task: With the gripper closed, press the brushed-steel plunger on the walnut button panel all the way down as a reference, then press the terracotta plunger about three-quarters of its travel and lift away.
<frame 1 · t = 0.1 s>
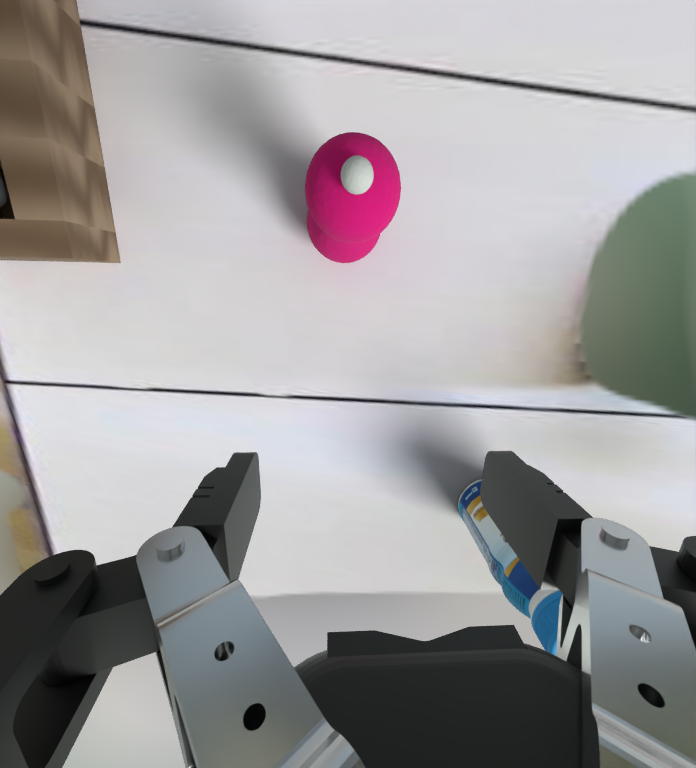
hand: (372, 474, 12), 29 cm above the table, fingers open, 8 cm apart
pepper mill: (342, 230, 36), on the table
beverage bottle: (483, 499, 48), on the table
button panel: (24, 134, 32), on the table
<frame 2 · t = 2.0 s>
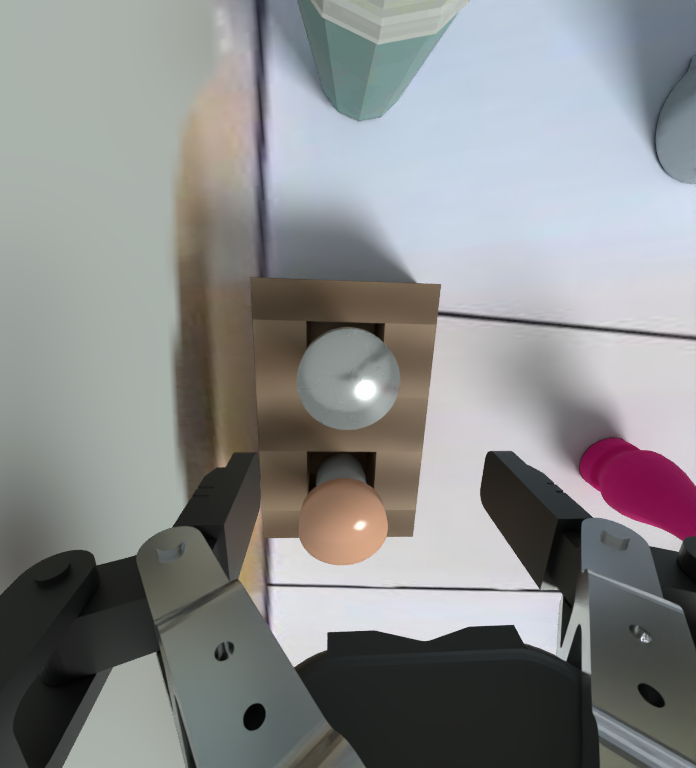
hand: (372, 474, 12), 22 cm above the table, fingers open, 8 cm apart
steel plunger: (346, 368, 24), point 9 cm above the table, slide at 0.0 cm
pepper mill: (603, 460, 39), on the table
disposable coffee cup: (361, 72, 26), on the table
button panel: (340, 396, 34), on the table
terracotta plunger: (341, 498, 27), point 9 cm above the table, slide at 0.0 cm
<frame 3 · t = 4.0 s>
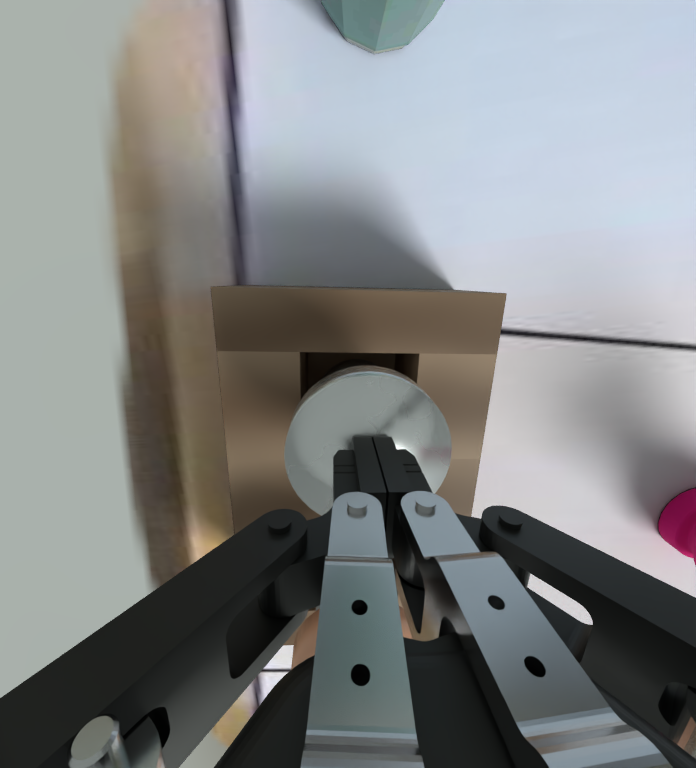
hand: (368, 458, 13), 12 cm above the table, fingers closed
steel plunger: (360, 419, 16), point 8 cm above the table, slide at 0.9 cm, touching gripper
pepper mill: (689, 514, 30), on the table
button panel: (348, 441, 26), on the table
terracotta plunger: (355, 608, 18), point 9 cm above the table, slide at 0.0 cm
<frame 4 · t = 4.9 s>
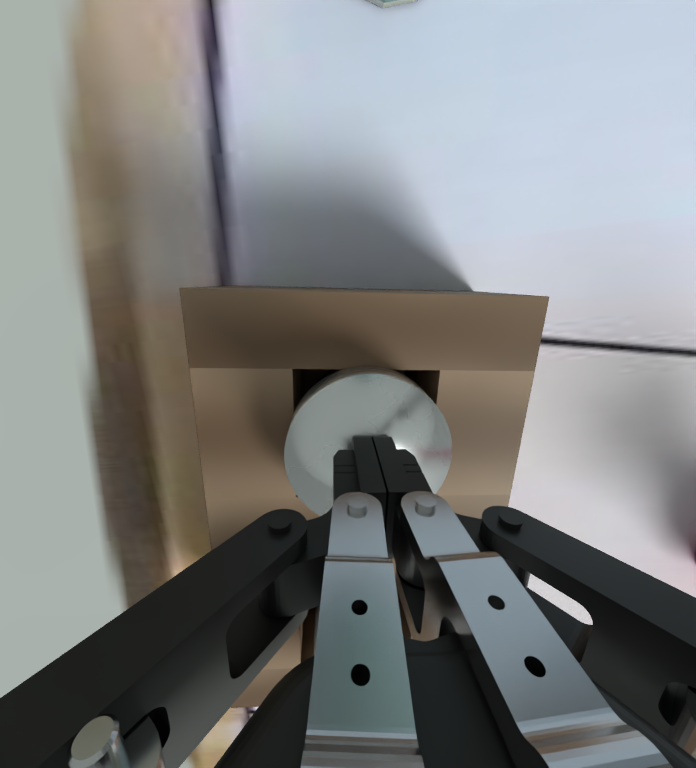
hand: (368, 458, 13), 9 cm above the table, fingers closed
steel plunger: (360, 420, 16), point 5 cm above the table, slide at 4.1 cm, touching gripper
button panel: (350, 464, 23), on the table
terracotta plunger: (360, 676, 15), point 9 cm above the table, slide at 0.0 cm
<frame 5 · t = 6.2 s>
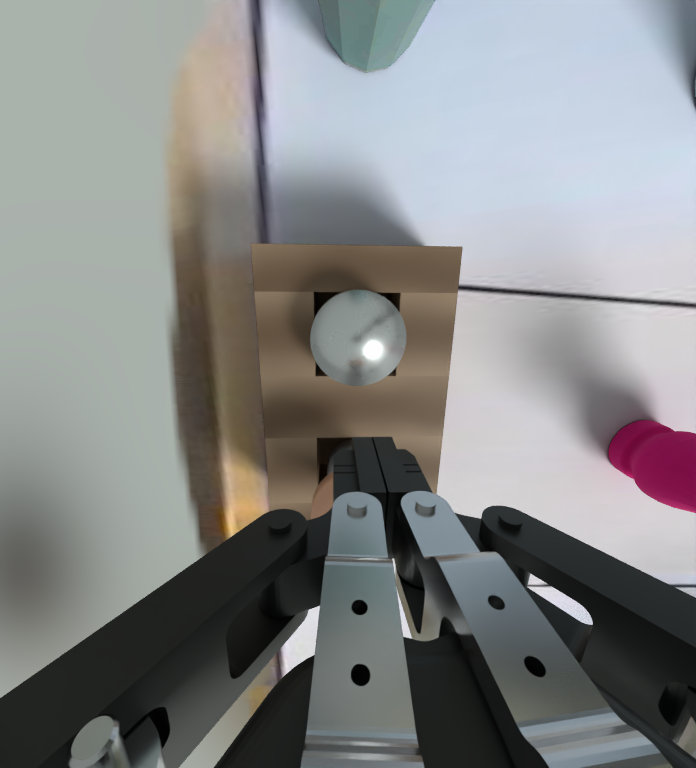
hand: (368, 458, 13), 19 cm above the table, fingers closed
steel plunger: (354, 332, 25), point 5 cm above the table, slide at 4.1 cm
pepper mill: (634, 445, 36), on the table
disposable coffee cup: (368, 16, 24), on the table
button panel: (350, 380, 32), on the table
terracotta plunger: (356, 487, 25), point 9 cm above the table, slide at 0.0 cm
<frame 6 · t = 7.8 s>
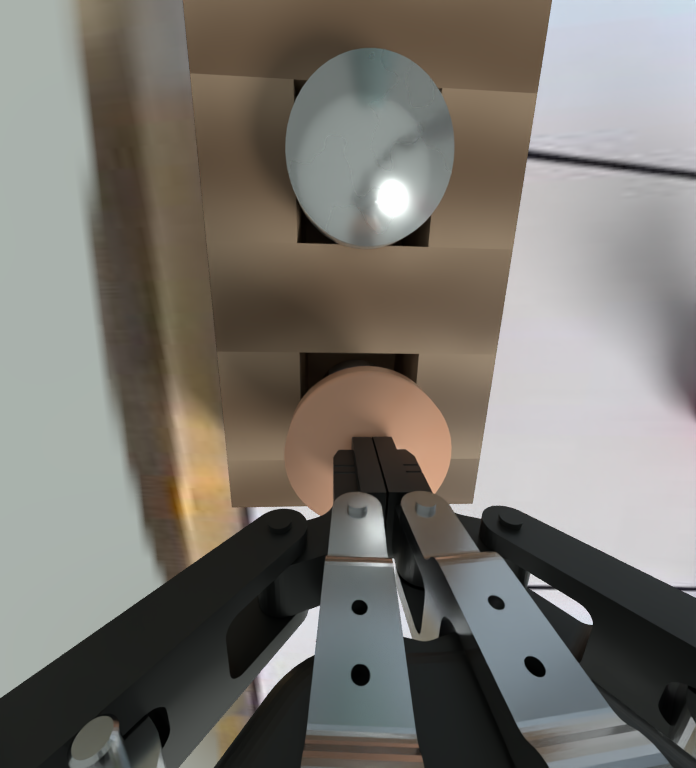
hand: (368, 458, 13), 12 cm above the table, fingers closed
steel plunger: (362, 181, 16), point 5 cm above the table, slide at 4.1 cm
button panel: (352, 295, 22), on the table
terracotta plunger: (360, 420, 16), point 8 cm above the table, slide at 0.9 cm, touching gripper
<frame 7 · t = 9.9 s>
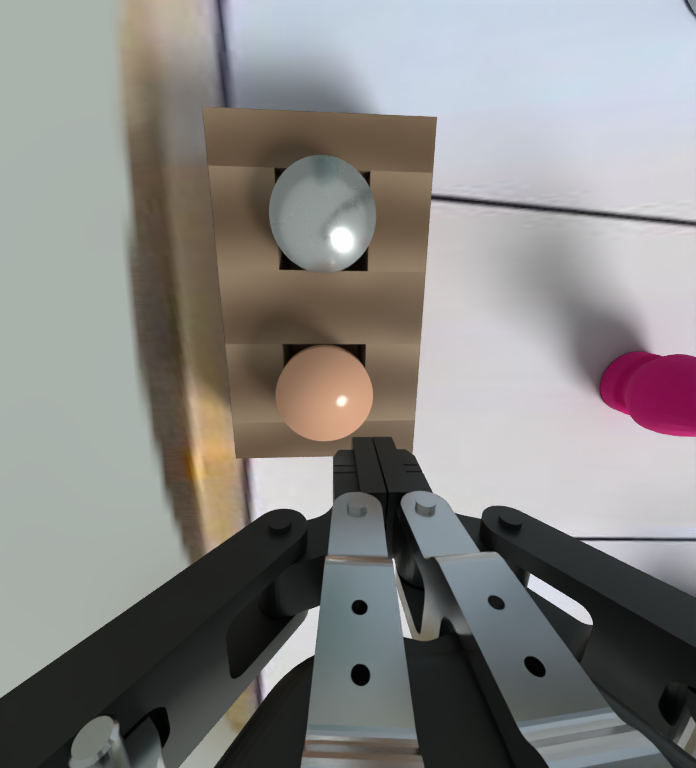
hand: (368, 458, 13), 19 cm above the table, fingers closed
steel plunger: (323, 226, 23), point 5 cm above the table, slide at 4.1 cm
pepper mill: (627, 380, 34), on the table
button panel: (324, 303, 30), on the table
terracotta plunger: (324, 382, 25), point 6 cm above the table, slide at 2.9 cm
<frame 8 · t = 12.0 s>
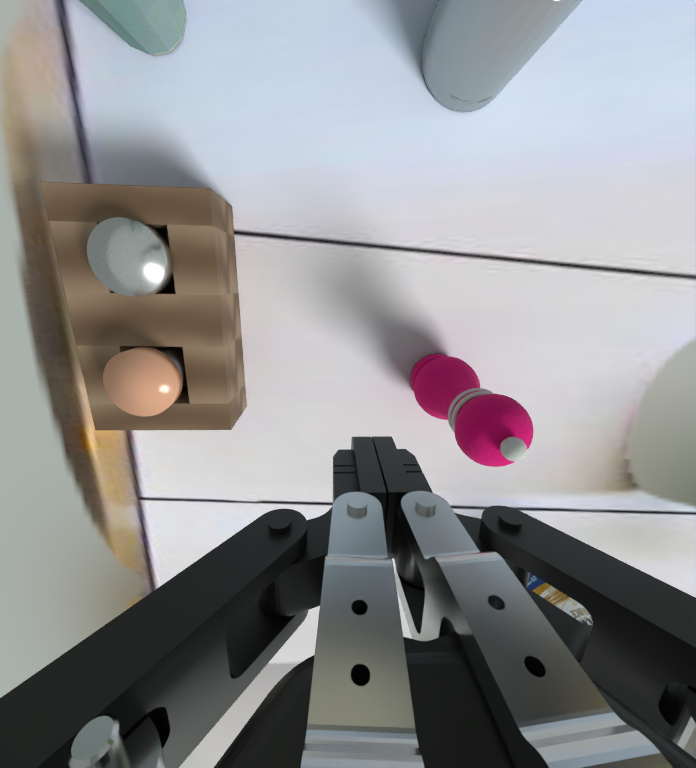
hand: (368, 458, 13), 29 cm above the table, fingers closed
steel plunger: (147, 260, 32), point 5 cm above the table, slide at 4.1 cm
pepper mill: (433, 376, 43), on the table
disposable coffee cup: (152, 12, 31), on the table
beverage bottle: (538, 582, 54), on the table
button panel: (178, 313, 38), on the table
terracotta plunger: (158, 374, 34), point 6 cm above the table, slide at 2.9 cm
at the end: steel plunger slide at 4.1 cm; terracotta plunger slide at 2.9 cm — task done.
